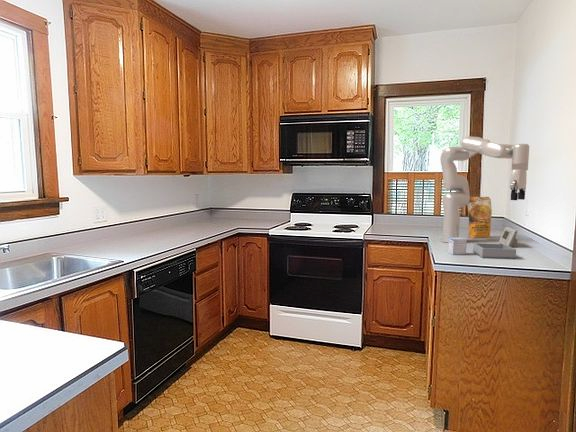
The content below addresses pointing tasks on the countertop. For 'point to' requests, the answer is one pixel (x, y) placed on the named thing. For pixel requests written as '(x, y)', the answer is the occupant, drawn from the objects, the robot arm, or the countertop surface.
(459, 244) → the medicine box
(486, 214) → the pancake mix bag
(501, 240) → the digital clock
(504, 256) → the bin
